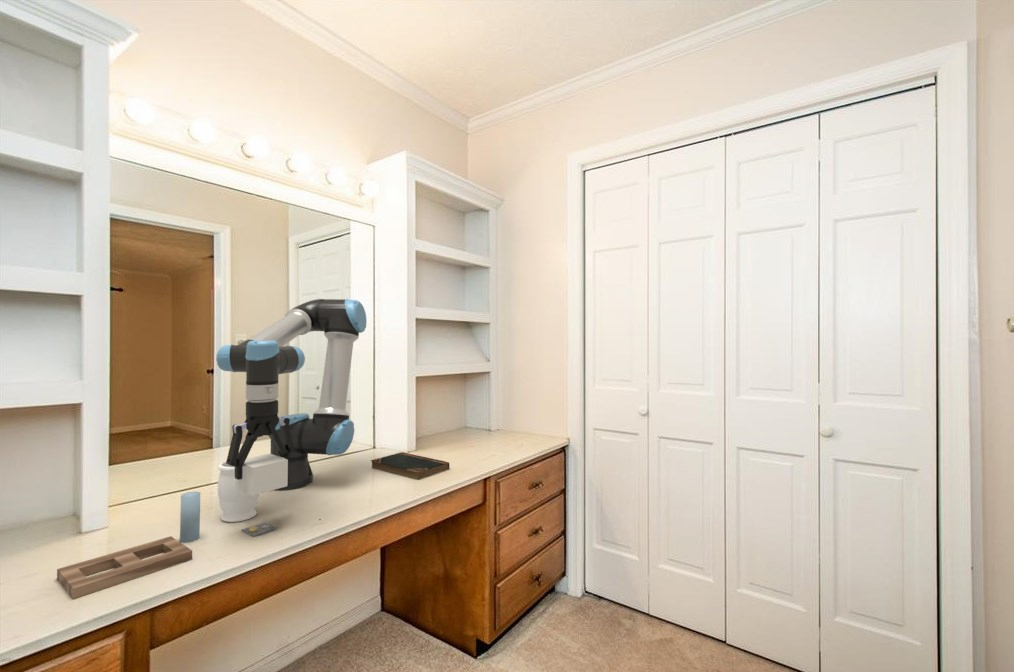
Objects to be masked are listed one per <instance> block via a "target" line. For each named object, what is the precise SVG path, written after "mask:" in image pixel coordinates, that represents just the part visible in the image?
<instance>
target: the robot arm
mask: <svg viewBox="0 0 1014 672" xmlns="http://www.w3.org/2000/svg"><path fill="white" fill-rule="evenodd" d="M366 314H367V312H366V310H365V308H364V306H363V304H362V303H361V301H359V300H357V299H356V300H355V299H349V298H345V299H343V298H342V299H337V298H336V299H335V298H334V299H329V298H327V299H325V298H317V299H312V300H309V301H306V302H303V303H301V304H299V305H297V306H294V307H293V308H291V309H290V310H288V311H287V312H286V313H285V314H284V317H282V318H280V319H278V320H277V321H275V322H274V323H272V324H270V325H268V326H267V327H266V328H264V329H262V330H261V331H259V332H258V333H256V334H254V335H252V336H250V337H249V338H248V339H245V340H244V341H242V342H241V343H239V344H236V345H235V344H226V345H222V346H221V347H220V348H219V349H218V350H217V353H216V365H217V366H218V368H219V369H220V370H222V371H225V372H230V373H231V372H232V373H246V374H245V375H246V377H245V378H246V379H245V400H246V402H245V418H246V419H245V421H244V423H240V424H233V425H232V426H231V427H232V428H231V429H232V437H231V441H230V445H229V449H228V452H227V453H228V454H227V456H226V457H227V458H226V461H225V462H226V464H228V465H230V466H234V467H235V479H237V480H238V491H241V492H243V493H244V492H246V473H247V466H245V465H243V464H244V462H245V460H246V459H247V458H248V456H249V454H250V451H251V450H252V448H253V446H254V443H255V442H256V441H257V439H258V438H261V437H264V436H268V437H269V440H270V453H269V454H273V455H276V456H278V457H281V458H284V459H287V460H288V483H287V486H286V487H282V488H279V489H275V490H274V491H287V490H295V489H299V488H303V487H307V486H309V485H310V484H312V483H313V482H314V474H313V470H312V468H311V465H310V461H309V455H327V456H334V455H336V456H339V455H342V454H344V453H345V452H347V451H348V449H349V448H350V446H351V444H352V442H353V439H354V435H355V424H354V421H352V420H351V419H350V414H349V412H347V410H346V409H347V408H346V406H347V401H348V399H347V398H348V393H349V392H348V391H349V383H350V373H351V367H352V358H353V349H354V343H355V342H356V341H357V340H359V335H360V333H361V334H362V333H363V332H365V331H366V328H367V315H366ZM310 332H323V335H324V337H325V338H326V339H327V343H326V344H327V346H326V351H325V359H324V360H325V361H324V367H323V374H322V375H323V376H322V381H321V391H320V398H319V405H318V406H319V407H318V409H317V410H315V411H314V412H313V415H312V418H310V414H309V413H303V412H301V413H293V414H287V415H282V416H279V400H278V398H279V375H282V374H292V373H294V372H298V371H299V370H301V369H302V368H303V367H304V364H305V360H306V356H305V353H304V352H303V350H302V349H301V348H300V347H298V346H295V345H287V344H288V343H289V342H291V341H292V340H294V339H295V338H298V337H299V336H304V335H306V334H308V333H310ZM245 429H246V430H247V433H246V434H245V436H244V435H243V434H244V433H245ZM243 436H244V437H245V440H244V441H243V443H242V439H243ZM241 444H242V445H241Z"/></svg>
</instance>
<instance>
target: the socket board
mask: <svg viewBox="0 0 1014 672" xmlns="http://www.w3.org/2000/svg"><path fill="white" fill-rule="evenodd" d="M154 555H156V556H154ZM151 556H152V557H151ZM191 559H192V560H193V550H192V549H191V548H189V547H188V546H187V545H185V544H184V543H183V542H180V540H177V539H176V538H174V537H173V536H171V535H170V536H166V537H164V538H159V539H157V540H153V541H149V542H146V543H143V544H140V545H136V546H132V547H129V548H128V547H127V548H126V549H121V550H119V551H115V552H112V553H111V552H110V553H107V554H105V555H104V554H103V555H102V556H98V557H94V558H90V559H87V560H85V561H80V562H78V563H74V564H71V565H70V564H69V565H66V566H63V567H60V568H57V570H56V580H57V581H58V582H59V583H60V584H61V586H62V587H63V588H64V589H65V591H66V592H67V593H68V595H70V597H71V598H72V599H73V600H74V599H78V598H81V597H83V596H87V595H89V594H93V593H96V592H98V591H101V590H104V589H107V588H111V587H113V586H118V585H119V584H123V583H125V582H129V581H131V580H134V579H136V578H137V579H138V578H141V577H143V576H148V575H150V574H153V573H155V572H158V571H162V570H164V569H167V568H170V567H174V566H176V564H177V565H179V563H180V564H182V563H181V562H183V563H186V562H188V560H189V561H191ZM185 561H186V562H185ZM173 565H174V566H173ZM110 569H111V570H110ZM100 572H101V573H100ZM94 574H95V575H94Z"/></svg>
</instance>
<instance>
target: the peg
mask: <svg viewBox="0 0 1014 672" xmlns="http://www.w3.org/2000/svg"><path fill="white" fill-rule="evenodd" d="M179 520H180V521H179V522H180V523H179V542H180V541H181V542H180V543H191V542H195V541H196V540H199V539H200V531H201V530H200V528H201V526H200V525H201V492H200V491H189V492H185V493H182V494H180V517H179ZM198 538H199V539H198ZM194 540H195V541H194Z"/></svg>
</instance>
